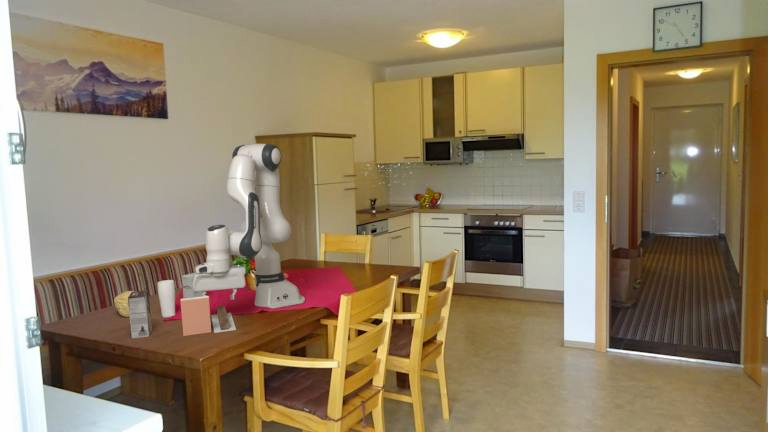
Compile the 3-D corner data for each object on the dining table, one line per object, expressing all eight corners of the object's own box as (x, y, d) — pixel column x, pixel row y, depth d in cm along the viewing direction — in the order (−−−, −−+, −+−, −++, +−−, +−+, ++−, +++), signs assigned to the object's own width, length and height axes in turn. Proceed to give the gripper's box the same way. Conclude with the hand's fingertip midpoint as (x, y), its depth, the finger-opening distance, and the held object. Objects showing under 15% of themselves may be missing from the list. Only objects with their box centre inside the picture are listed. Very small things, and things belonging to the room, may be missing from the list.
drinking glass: (171, 318, 235) (168, 283, 233) (156, 318, 236) (153, 283, 235) (180, 314, 241) (177, 280, 240) (166, 313, 243) (163, 279, 241)
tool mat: (230, 313, 239) (230, 312, 239) (236, 331, 214) (236, 329, 214) (211, 316, 236) (211, 315, 236) (214, 334, 212) (214, 332, 212)
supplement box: (183, 302, 262) (181, 275, 261) (196, 298, 268) (194, 272, 267) (193, 304, 258) (191, 277, 257) (206, 300, 264) (204, 273, 263)
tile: (211, 331, 216) (208, 295, 214) (211, 333, 213) (208, 297, 211) (183, 335, 212) (180, 299, 211) (183, 337, 209) (180, 300, 208)
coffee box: (134, 331, 219) (131, 291, 217) (152, 329, 221) (148, 289, 219) (131, 339, 210) (127, 297, 208) (149, 336, 212) (146, 295, 210)
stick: (225, 314, 236) (224, 305, 235) (228, 329, 215) (228, 319, 215) (217, 315, 235) (216, 306, 234) (220, 330, 214) (220, 320, 214)
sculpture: (111, 317, 240) (108, 293, 239) (134, 310, 251) (132, 286, 250) (130, 320, 236) (127, 295, 234) (152, 312, 246) (150, 288, 245)
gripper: (244, 263, 229) (245, 296, 230) (191, 266, 222) (193, 301, 223) (246, 265, 223) (247, 299, 224) (191, 269, 216) (193, 304, 217)
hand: (219, 300), depth 223 cm, fingers open, 8 cm apart
